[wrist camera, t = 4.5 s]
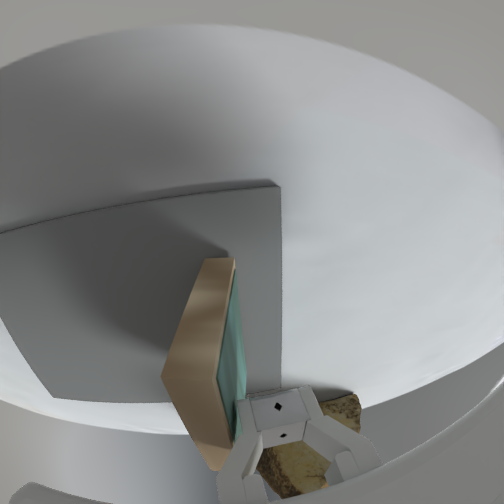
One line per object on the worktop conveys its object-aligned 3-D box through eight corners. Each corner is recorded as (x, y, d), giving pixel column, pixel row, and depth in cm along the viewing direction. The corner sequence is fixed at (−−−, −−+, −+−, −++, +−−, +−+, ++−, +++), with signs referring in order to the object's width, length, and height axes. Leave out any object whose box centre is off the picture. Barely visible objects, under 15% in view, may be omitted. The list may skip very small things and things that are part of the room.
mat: (277, 185, 12) (280, 187, 12) (279, 383, 18) (280, 387, 18) (-26, 241, 10) (-30, 243, 9) (54, 393, 16) (53, 397, 15)
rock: (394, 388, 18) (309, 404, 14) (391, 475, 14) (305, 518, 10) (311, 396, 27) (230, 399, 22) (310, 463, 23) (229, 479, 18)
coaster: (235, 257, 13) (213, 380, 6) (247, 371, 16) (241, 472, 10) (204, 258, 13) (160, 376, 6) (224, 370, 16) (211, 470, 10)
